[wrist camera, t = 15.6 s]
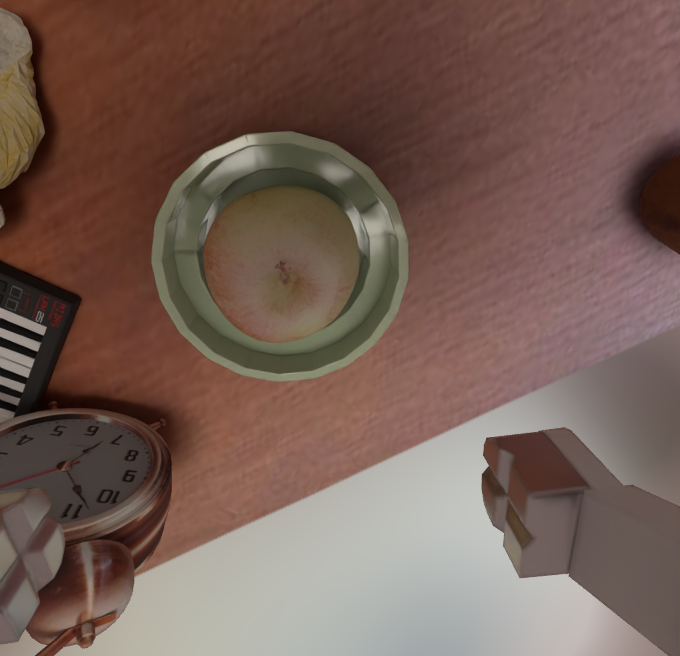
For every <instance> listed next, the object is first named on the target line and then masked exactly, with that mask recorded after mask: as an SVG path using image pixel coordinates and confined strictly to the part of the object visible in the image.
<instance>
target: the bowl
mask: <svg viewBox="0 0 680 656" xmlns="http://www.w3.org/2000/svg"><path fill="white" fill-rule="evenodd" d="M277 185H293V186H300V187H306V188H309V189H312V190H315V191H317V192H320V193H322V194H324V195H326V196H328V197H329V198H331V199H332V200H333V201H334V202H336V203H337V204H338V205H339V206H340V207H341V208H342V209H343V210H344V211H345V212H346V213H347V214H348V216H349V218H350V220H351V222H352V225H353V227H354V230H355V233H356V235H357V240H358V245H359V256H360V262H359V271H358V276H357V279H356V283H355V286H354V289H353V291H352V293H351V295H350V297H349V299H348V301H347V303H346V304H345V306H344V308H343V309H342V311H341V312H340V313H339V315H338V316H337V317H336V318H335V319H334V320H333V321H332V322H331V323H330V324H328V325H327V326H326V327H325V328H323V329H321V330H319V331H318V332H316V333H314V334H312V335H310V336H307V337H305V338H302V339H300V340H296V341H291V342H284V343H269V342H264V341H258V340H256V339H254V338H252V337H250V336H248V335H246V334H244V333H243V332H241V331H240V330H238V329H237V328H236V327H235V326H234V325H232V324H231V323H230V322H229V321H228V320H227V319H226V317H225V316H224V315H223V314H222V312H221V311H220V309H219V307H218V306H217V304H216V303H215V301H214V299H213V297H212V294H211V292H210V290H209V287H208V283H207V280H206V276H205V270H204V264H203V252H204V244H205V240H206V237H207V234H208V231H209V229H210V227H211V225H212V224H213V222H214V220H215V218H216V217H217V216H218V215H219V213H220V212H221V211H222V210H223V209H224V208H225V207H226V206H227V205H228V204H229V203H231V202H232V201H234V200H235V199H237V198H239V197H240V196H242V195H244V194H247V193H250V192H253V191H256V190H259V189H262V188H267V187H272V186H277ZM151 264H152V268H153V272H154V277H155V281H156V285H157V290H158V294H159V298H160V301H161V303H162V304H163V306H164V308H165V309H166V311H167V313H168V314H169V316H170V318H171V319H172V321H173V323H174V324H175V326H176V328H177V329H178V331H179V333H181V335H182V336H183V337H184V338H186V339H187V340H188V341H189V342H190V343H191V344H192V345H193V346H194V347H196V348H197V349H198V350H199V351H200V352H201V353H202V354H203V355H204V356H205V357H207V358H208V359H209V360H211V361H213V362H215V363H217V364H219V365H221V366H223V367H226V368H228V369H230V370H232V371H234V372H236V373H238V374H240V375H243V376H247V377H253V378H258V379H264V380H270V381H275V382H278V381H279V382H285V381H295V380H305V379H314V378H318V377H320V376H323V375H325V374H328V373H330V372H333V371H335V370H338V369H340V368H343V367H345V366H348V365H349V364H351V363H352V362H353V361H354V360H356V359H357V358H358V357H360V356H361V355H362V354H363V353H365V352H366V351H367V350H369V349H370V348H371V347H372V346H374V345H375V344H376V343H377V342H378V340H379V339H380V337H381V336H382V335H383V333H384V332H385V330H386V329H387V328H388V326H389V325H390V323H391V322H392V320H393V319H394V318H395V316H396V315H397V313H398V310H399V307H400V304H401V301H402V297H403V294H404V291H405V288H406V285H407V282H408V278H409V241H408V237H407V234H406V231H405V228H404V225H403V222H402V219H401V216H400V213H399V210H398V207H397V204H396V202H395V200H394V198H393V197H392V196H391V194H390V193H389V192H388V191H387V189H386V188H385V187H384V185H383V184H382V183H381V181H380V180H379V179H378V177H377V176H376V175H375V173H374V172H373V171H372V169H371V168H369V166H367V165H366V164H364V163H363V162H361V161H360V160H358V159H357V158H355V157H354V156H352V155H351V154H350V153H348V152H347V151H345V150H344V149H342V148H341V147H339V146H338V145H336V144H334V143H333V142H329V141H326V140H322V139H318V138H315V137H311V136H307V135H304V134H300V133H297V132H293V131H291V132H290V131H281V132H266V133H252V134H246V135H242V136H240V137H237V138H235V139H233V140H230V141H228V142H226V143H224V144H221V145H219V146H217V147H215V148H212V149H210V150H208V151H206V152H205V153H203V154H202V155H201V156H200V157H199V158H198V159H197V160H196V161H195V162H194V163H193V164H192V165H191V166H189V167H188V168H187V169H186V170H185V171H184V172H183V173H182V174H181V175H180V176H179V177H178V178H177V179H176V180H175V181H174V183H173V184H172V186H171V188H170V190H169V192H168V194H167V196H166V198H165V200H164V202H163V205H162V207H161V209H160V211H159V213H158V215H157V217H156V220H155V225H154V235H153V245H152V254H151Z"/></svg>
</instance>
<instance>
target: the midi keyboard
mask: <svg viewBox="0 0 680 656" xmlns="http://www.w3.org/2000/svg"><path fill="white" fill-rule="evenodd" d="M79 303H80V298H79V297H77V296H74V295H72V294H70V293H68V292H65V291H63V290H61V289H59V288H56V287H54V286H52V285H50V284H47V283H45V282H43V281H41V280H38V279H36V278H34V277H32V276H29V275H27V274H25V273H23V272H20V271H18V270H16V269H14V268H11V267H9V266H7V265H5V264H2V263H0V423H1V422H3V421H6V420H8V419H12V418H15V417H18V416H22V415H26V414H30V413H34V412H37V411H38V408H39V406H40V403H41V400H42V398H43V395H44V393H45V390H46V388H47V385H48V383H49V380H50V377H51V375H52V372H53V370H54V367H55V365H56V362H57V359H58V357H59V354H60V352H61V349H62V347H63V344H64V342H65V339H66V336H67V334H68V331H69V329H70V326H71V324H72V321H73V318H74V316H75V313H76V311H77V308H78V306H79Z"/></svg>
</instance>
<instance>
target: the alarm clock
mask: <svg viewBox="0 0 680 656" xmlns="http://www.w3.org/2000/svg"><path fill="white" fill-rule="evenodd" d="M58 405H59V404H58V403H57V402H55V401H52V402H50V403H49V405H48V407H49V408H50V410H46V411H39V412H34V413H30V414H26V415H22V416H18V417H15V418H12V419H8V420H6V421H3V422H1V423H0V490H10V489H21V488H33V487H38V488H41V489H44V490H46V492H47V494H48V496H49V499H50V501H51V503H52V505H51V507H50V509H49V512H48V515H49V516H51V517H52V518H54V519H55V520H56V521H58V522H59V523H60V524H61V527H62V530H63V532H64V539H65V549H64V554H63V558H62V563H61V565H60V567H59V569H58V571H57V573H56V575H55V577H54V578H53V579H52V580H51V581H50V582H49V583H47V584H46V585H45V586H44V587H43V588H41V589H40V590H39V591H38V596H39V600H40V603H39V605H38V607H37V609H36V611H35V612H34V614H33V616H32V618H31V619H30V621H29V623H28V625H27V627H26V630H27V631H28V633H29V634H30V636H31V637H32V638H33V639H35V640H36V641H37V642H39V643H41V644H45V645H47V646H46V647H45V648H44V649H43V650H41V651H40V652H39V653H38V654H37V655H35V656H54V655H55V654H56V653H57V652H58V651H60V650H61V649H62V648H63V647H65V646H71V645H76V644H78V645H79V646H80V647H81V648H88V647H89V646H91V645H92V644H93V641H94V639H95V637H96V636H97V635H98V634H100V633H102V632H103V631H105V630H106V629H107V628H109V627H110V626H111V625H112V624H113V623H114V622H115V621H116V620H117V619H118V618H119V617H120V615H121V614H122V613H123V611H124V610H125V608H126V606H127V604H128V603H129V601H130V598H131V596H132V592H133V586H134V575H135V574H136V573H137V572H138V571H139V570H140V569H141V568H142V567H143V566H144V565H145V563H146V562H147V561H148V559H149V558H150V557H151V556H152V554H153V553H154V551H155V549H156V547H157V545H158V543H159V541H160V539H161V536H162V533H163V529H164V525H165V521H166V518H167V514H168V511H169V507H170V500H171V492H172V463H171V455H170V452H169V449H168V446H167V444H166V443H165V441H164V440H163V438H162V437H161V436H160V435H159V434H158V433H157V432H156V431H155V430H156V429H157V428H159V427H160V426H164V425H165V424H166V421H165V420H164V419H159V420H158V421H157V422H156V423H153V424H150V425H147V424H145V423H143V422H141V421H139V420H137V419H135V418H133V417H130V416H127V415H124V414H121V413H117V412H112V411H107V410H100V409H91V408H64V409H58V408H57V407H58Z"/></svg>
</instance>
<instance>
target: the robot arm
mask: <svg viewBox="0 0 680 656" xmlns="http://www.w3.org/2000/svg"><path fill="white" fill-rule="evenodd" d="M483 456H484V458H485V459H486V461H487V463H488V465H489V467H488V468H487V469H486V470H485V471H484V473H483V474H482V494H483V501H484V505H485V508H486V511H487V514H488V516H489V518H490V520H491V522H492V524H493V526H494V527H496V528H497V529H499V530H500V531H502V532H503V533H504V542H503V546H504V548H505V550H506V552H507V554H508V556H509V558H510V560H511V562H512V564H513V566H514V568H515V570H516V572H517V574H518V576H519V578H527V577H536V576H548V575H558V574H568V573H569V577H571V578H572V579H573V580H574V581H576V582H577V583H578V584H579V585H580V586H582V587H583V588H584V589H586V590H587V591H588V592H589V593H591V594H592V595H593V596H594V597H596V598H597V599H598V600H599V601H601V602H602V603H603V604H604V605H606V606H607V607H608V608H609V609H611V610H612V611H613V612H614V613H616V614H617V615H618V616H620V617H621V618H622V619H623V620H624V621H626V622H627V623H628V624H629V625H631V626H632V627H633V628H634V629H636V630H637V631H638V632H639V633H641V634H642V635H643V636H644V637H646V638H647V639H648V640H649V641H651V642H652V643H653V644H654V645H656V646H657V647H658V648H659V649H661V650H662V651H663V652H665V653H666V654H667V655H668V656H680V506H678V505H675V504H673V503H671V502H669V501H666V500H664V499H662V498H660V497H658V496H656V495H653V494H651V493H649V492H647V491H645V490H643V489H640V488H638V487H636V486H634V485H626V486H623V484H622V483H620V481H619V480H618V479H617V478H616V477H615V476H614V475H613V474H612V473H611V472H610V471H609V470H608V469H607V468H606V467H605V466H604V465H603V463H602V462H601V461H600V460H599V459H598V458H597V457H596V456H595V455H594V454H593V453H592V452H591V451H590V450H589V449H588V448H587V447H586V446H585V444H584V443H583V442H582V441H581V440H580V439H579V438H578V437H577V436H576V435H575V434H574V433H573V432H572V431H571V430H569V429H567V428H565V427H564V428H556V429H549V430H542V431H538V432H532V433H523V434H515V435H506V436H498V437H489V438H486V441H485V444H484V452H483ZM51 505H52V503H51V501H50V499H49V496H48V494H47V492H46V490H44V489H41V488H38V487H33V488H21V489H10V490H0V644H7V643H13V642H18V641H19V639H20V637H21V635H22V634H23V632H24V630H25V628H26V627H27V625H28V623H29V621H30V619H31V618H32V616H33V614H34V612H35V611H36V609H37V607H38V605H39V603H40V600H39V596H38V591H39V590H40V589H41V588H43V587H44V586H45V585H46V584H47V583H49V582H50V581H51V580H52V579H53V578H54V577H55V575H56V573H57V571H58V569H59V567H60V565H61V563H62V558H63V554H64V549H65V539H64V532H63V530H62V527H61V524H60V523H59V522H58V521H56V520H55V519H54V518H52V517H51V516H49V515H48V512H49V509H50V507H51Z"/></svg>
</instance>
